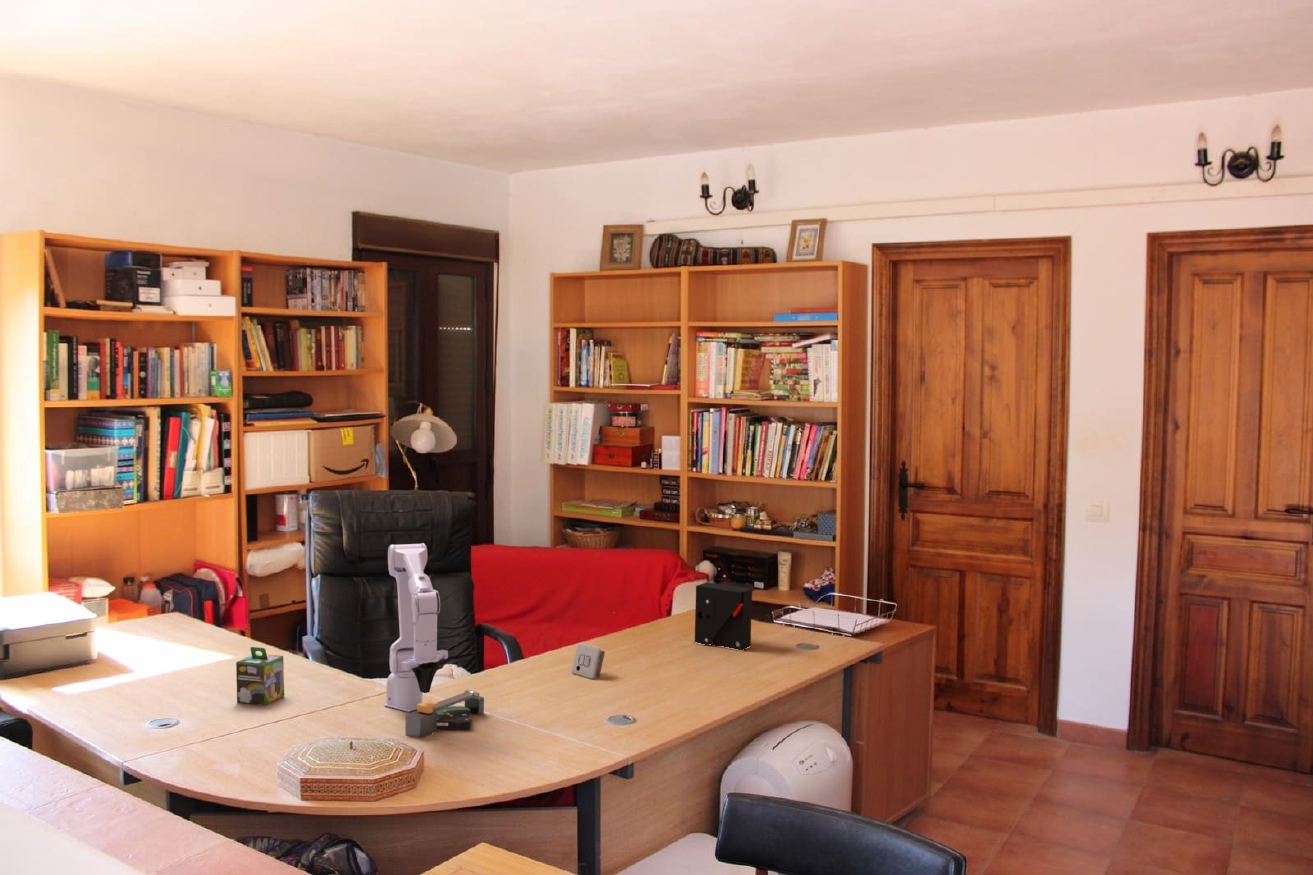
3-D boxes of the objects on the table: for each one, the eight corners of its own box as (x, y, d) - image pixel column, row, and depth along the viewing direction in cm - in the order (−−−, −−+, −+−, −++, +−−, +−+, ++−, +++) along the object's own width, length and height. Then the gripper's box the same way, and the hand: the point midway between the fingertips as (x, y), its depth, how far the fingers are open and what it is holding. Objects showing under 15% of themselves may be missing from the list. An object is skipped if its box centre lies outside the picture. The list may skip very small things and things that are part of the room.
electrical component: (753, 646, 363) (755, 587, 362) (739, 652, 354) (741, 592, 353) (708, 638, 372) (709, 581, 371) (693, 644, 364) (695, 586, 363)
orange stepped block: (416, 710, 271) (417, 704, 271) (427, 706, 274) (427, 700, 274) (428, 713, 269) (428, 707, 268) (439, 709, 272) (439, 703, 272)
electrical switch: (570, 673, 325) (573, 643, 325) (582, 672, 329) (585, 642, 329) (592, 680, 319) (595, 649, 319) (604, 678, 323) (607, 647, 323)
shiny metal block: (405, 734, 268) (405, 715, 268) (469, 710, 289) (469, 691, 288) (420, 738, 266) (420, 719, 265) (483, 713, 286) (484, 695, 286)
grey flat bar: (421, 711, 272) (421, 706, 272) (467, 694, 287) (468, 689, 287) (432, 714, 270) (432, 709, 270) (479, 697, 285) (479, 691, 285)
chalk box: (285, 696, 297) (285, 644, 296) (264, 706, 288) (264, 652, 287) (256, 693, 300) (256, 641, 299) (235, 702, 291) (235, 649, 290)
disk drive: (471, 732, 273) (469, 716, 287) (472, 721, 273) (470, 705, 287) (430, 731, 270) (430, 715, 285) (430, 720, 270) (431, 705, 285)
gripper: (416, 647, 263) (415, 702, 264) (456, 635, 275) (456, 687, 276) (395, 643, 266) (395, 696, 267) (436, 631, 279) (436, 682, 280)
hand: (424, 692), depth 272 cm, fingers closed
